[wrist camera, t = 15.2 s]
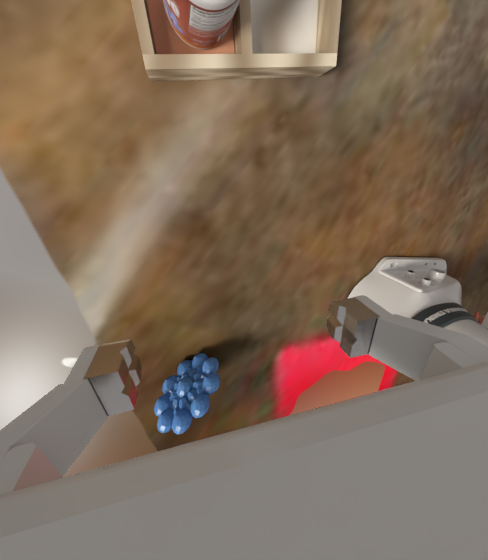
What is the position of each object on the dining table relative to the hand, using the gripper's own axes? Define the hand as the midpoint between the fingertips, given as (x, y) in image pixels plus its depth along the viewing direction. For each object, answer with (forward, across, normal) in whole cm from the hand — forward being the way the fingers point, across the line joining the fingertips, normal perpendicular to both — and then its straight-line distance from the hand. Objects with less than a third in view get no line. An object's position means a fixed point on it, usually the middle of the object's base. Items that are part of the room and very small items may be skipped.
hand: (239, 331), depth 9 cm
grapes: (+25, -6, -26) cm, 36 cm away
